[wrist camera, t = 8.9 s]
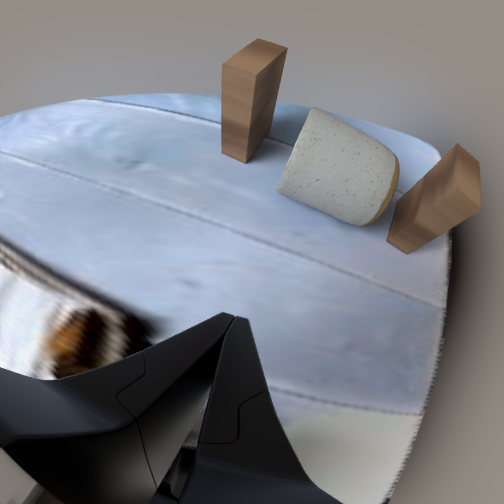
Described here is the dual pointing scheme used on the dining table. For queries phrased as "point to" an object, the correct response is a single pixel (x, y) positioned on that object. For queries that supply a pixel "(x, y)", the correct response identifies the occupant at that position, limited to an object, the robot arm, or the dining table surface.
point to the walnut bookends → (408, 206)
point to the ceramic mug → (340, 170)
